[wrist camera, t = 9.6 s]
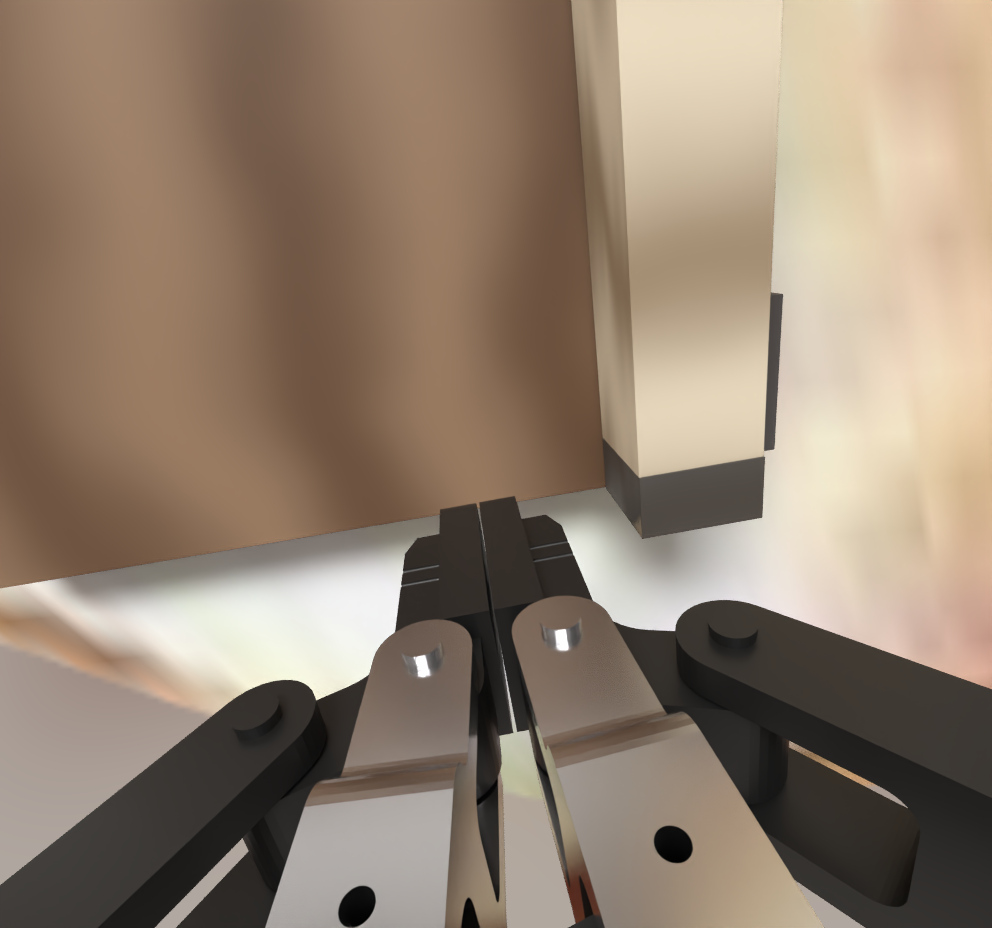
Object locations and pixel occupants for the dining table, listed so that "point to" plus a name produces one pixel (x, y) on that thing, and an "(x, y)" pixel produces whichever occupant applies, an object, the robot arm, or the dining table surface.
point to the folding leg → (680, 248)
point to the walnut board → (287, 272)
